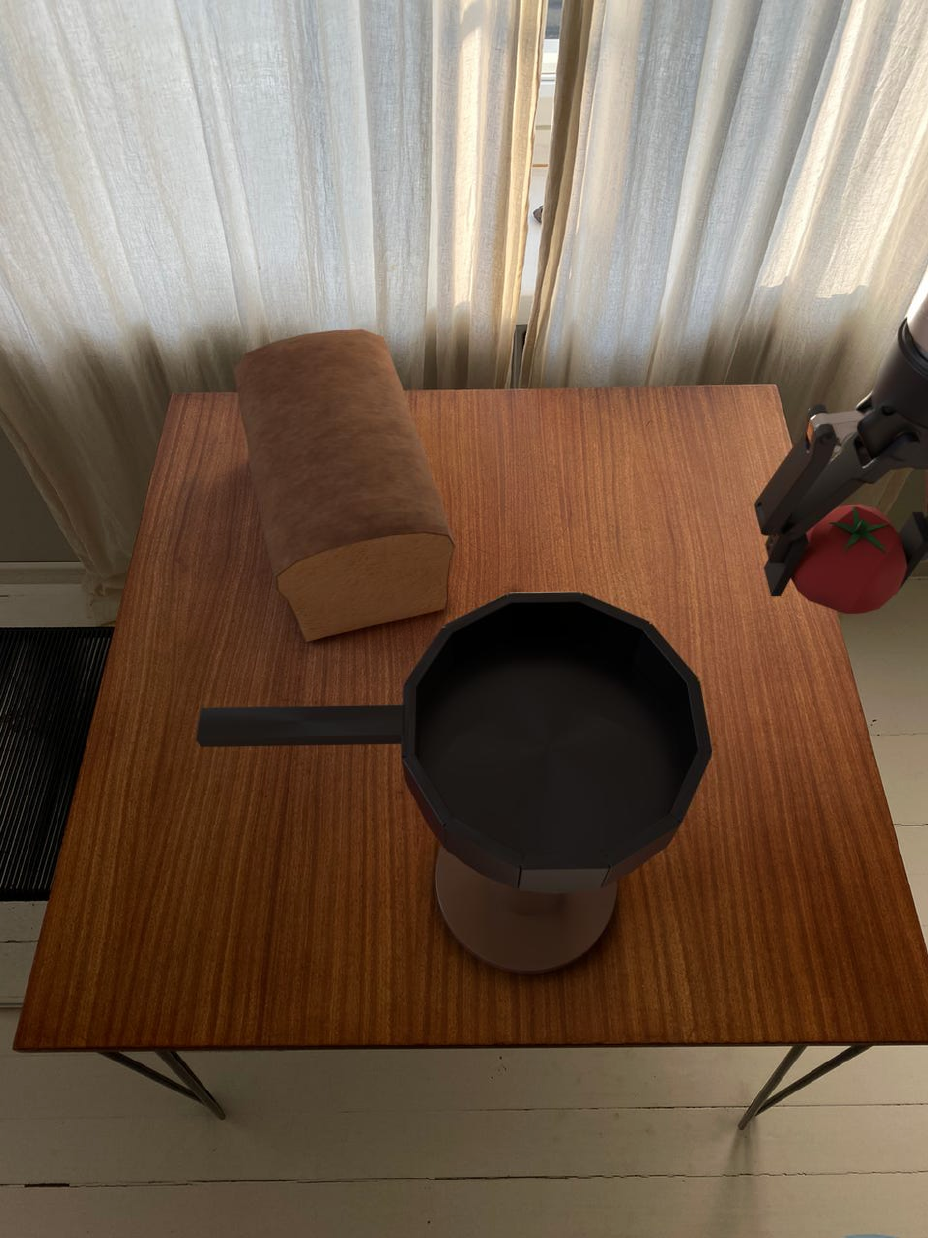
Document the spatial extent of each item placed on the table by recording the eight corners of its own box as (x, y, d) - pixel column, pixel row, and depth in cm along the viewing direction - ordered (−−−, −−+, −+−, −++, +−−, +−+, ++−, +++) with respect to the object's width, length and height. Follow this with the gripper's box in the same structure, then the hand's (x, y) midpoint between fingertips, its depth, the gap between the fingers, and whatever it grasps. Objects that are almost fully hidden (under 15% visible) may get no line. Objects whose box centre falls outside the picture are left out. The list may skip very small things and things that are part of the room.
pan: (635, 983, 73) (733, 866, 46) (285, 988, 73) (172, 875, 46) (613, 785, 83) (683, 589, 55) (303, 790, 83) (219, 596, 55)
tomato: (762, 591, 67) (790, 531, 61) (810, 528, 70) (842, 465, 64) (860, 647, 64) (900, 590, 58) (905, 578, 67) (948, 517, 61)
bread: (293, 650, 91) (262, 558, 78) (253, 447, 107) (221, 341, 93) (460, 610, 94) (458, 514, 80) (397, 418, 109) (386, 310, 96)
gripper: (1133, 293, 50) (949, 540, 69) (768, 298, 50) (685, 544, 69) (1195, 384, 46) (981, 620, 65) (798, 389, 46) (701, 624, 65)
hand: (829, 580), depth 67 cm, fingers closed on tomato, 8 cm apart
